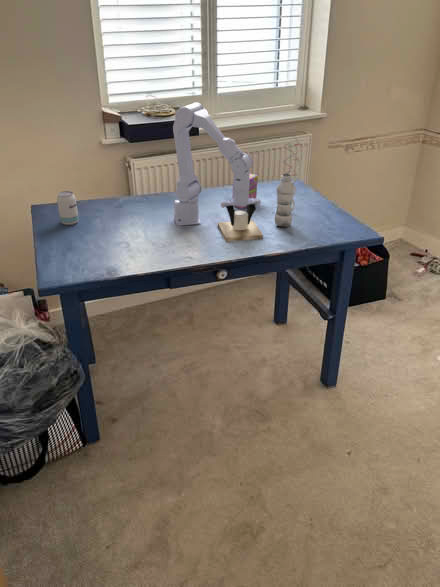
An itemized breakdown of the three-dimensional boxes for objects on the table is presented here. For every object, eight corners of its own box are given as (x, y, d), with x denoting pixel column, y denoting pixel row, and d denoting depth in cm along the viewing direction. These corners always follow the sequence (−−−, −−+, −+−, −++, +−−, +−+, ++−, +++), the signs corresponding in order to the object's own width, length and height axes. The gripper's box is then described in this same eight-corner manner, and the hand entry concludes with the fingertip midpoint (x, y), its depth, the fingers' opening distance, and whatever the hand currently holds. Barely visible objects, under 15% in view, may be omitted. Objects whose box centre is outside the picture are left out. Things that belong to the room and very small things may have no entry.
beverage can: (72, 227, 193) (68, 197, 187) (57, 225, 195) (52, 195, 189) (82, 220, 199) (78, 191, 193) (67, 218, 201) (62, 189, 194)
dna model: (294, 215, 205) (301, 140, 190) (278, 214, 206) (284, 139, 191) (294, 209, 211) (301, 136, 195) (279, 208, 212) (284, 135, 196)
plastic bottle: (290, 229, 193) (295, 178, 183) (273, 227, 195) (276, 177, 184) (292, 222, 199) (296, 173, 188) (275, 221, 200) (278, 172, 190)
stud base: (225, 241, 184) (225, 227, 181) (217, 226, 196) (217, 212, 193) (262, 238, 186) (263, 224, 184) (252, 223, 198) (253, 210, 195)
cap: (234, 230, 187) (234, 217, 184) (231, 225, 192) (231, 211, 189) (248, 229, 188) (249, 215, 185) (245, 223, 193) (245, 210, 190)
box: (242, 209, 211) (243, 181, 205) (231, 205, 214) (232, 178, 208) (256, 201, 218) (258, 175, 212) (245, 198, 221) (246, 172, 215)
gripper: (223, 194, 177) (223, 229, 185) (263, 191, 180) (261, 226, 187) (219, 187, 183) (219, 222, 190) (258, 184, 186) (256, 219, 193)
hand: (240, 223), depth 189 cm, fingers closed on cap, 5 cm apart
